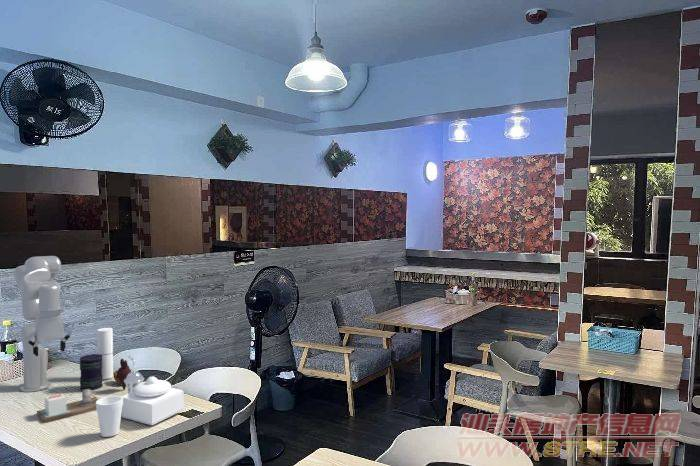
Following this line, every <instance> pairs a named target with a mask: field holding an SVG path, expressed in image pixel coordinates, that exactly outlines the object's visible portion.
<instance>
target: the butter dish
mask: <svg viewBox="0 0 700 466" xmlns="http://www.w3.org/2000/svg"><path fill="white" fill-rule="evenodd" d="M120 396H121V395H120ZM121 397H123V405H122V413H121V418H122V419H123V418H124V419H128V420H132V421H135V422H139V423H142V424H146V425H149V426H153V425H155V424H158V423H161V421H165V420H166V419H168V418H170V417H172V416H175V415H176V414H178V413H180V412H183V411H184V410H185V391H184V390H183V389H179V388H174V387H172V384H171V383H170V382H169V381H167V380H164V379H163V380H162V379H158V378H157V377H155V376H154V375H153V376H149V377H148V378H147V379H146V381H142V383H140V384H139V385H137V386H136V387H135V388H134V392H132V393H129V394H128V393H127V394H124V395H122V396H121Z"/></svg>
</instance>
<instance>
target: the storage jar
mask: <svg viewBox="0 0 700 466" xmlns="http://www.w3.org/2000/svg"><path fill="white" fill-rule="evenodd" d="M102 366H103V365H102V355H100V354H98V353H93V354H92V353H91V354H86V355H83V356H80V357H79V370H80V377H79V385H80V390H81V391H83V390H85V389H90V390H91V391H96V390H99V389H101V388H102V387H103V381H104V379H103V378H102V377H103V376H102Z"/></svg>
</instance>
